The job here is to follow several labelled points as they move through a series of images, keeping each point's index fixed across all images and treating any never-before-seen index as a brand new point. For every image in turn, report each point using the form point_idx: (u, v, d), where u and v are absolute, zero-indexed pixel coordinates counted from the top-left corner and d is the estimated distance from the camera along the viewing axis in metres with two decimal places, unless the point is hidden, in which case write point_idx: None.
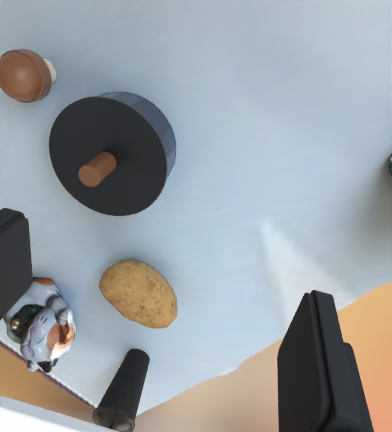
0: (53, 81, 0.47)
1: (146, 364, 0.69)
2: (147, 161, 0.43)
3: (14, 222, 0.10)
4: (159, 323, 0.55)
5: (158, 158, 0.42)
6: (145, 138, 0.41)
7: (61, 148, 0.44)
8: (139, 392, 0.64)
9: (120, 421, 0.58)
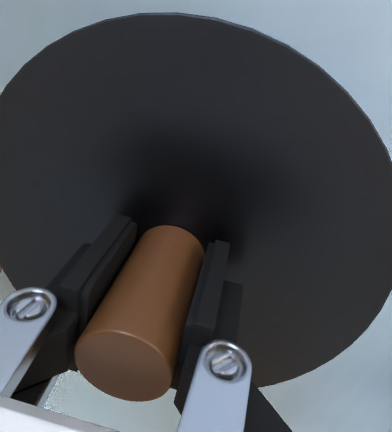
0: None
1: None
2: (255, 135, 0.10)
3: (129, 227, 0.11)
4: None
5: (274, 84, 0.10)
6: (177, 76, 0.10)
7: None
8: None
9: None
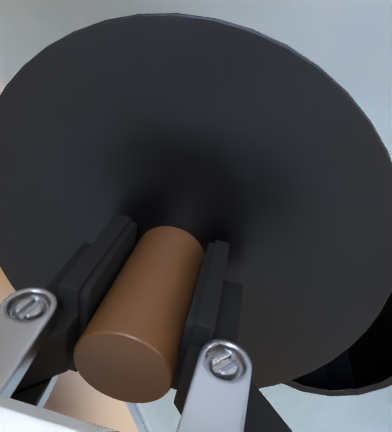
0: None
1: None
2: (255, 136, 0.10)
3: (129, 227, 0.11)
4: None
5: (274, 85, 0.09)
6: (176, 76, 0.10)
7: None
8: None
9: None
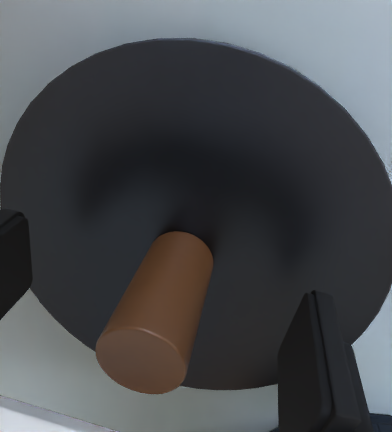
0: None
1: None
2: (261, 149, 0.11)
3: (14, 222, 0.10)
4: None
5: (279, 103, 0.10)
6: (189, 94, 0.11)
7: (91, 320, 0.16)
8: None
9: None
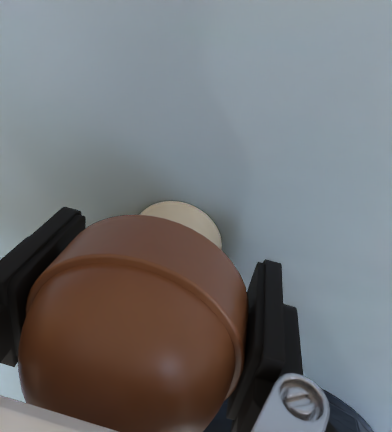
0: None
1: None
2: None
3: (75, 220, 0.11)
4: None
5: None
6: None
7: None
8: None
9: None
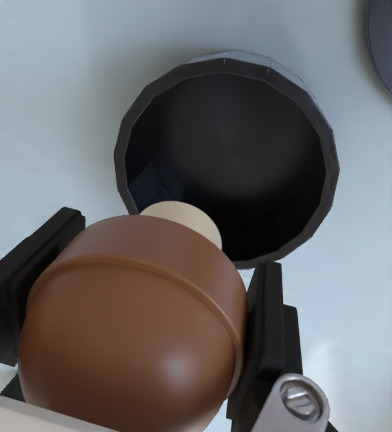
0: None
1: None
2: None
3: (75, 220, 0.11)
4: None
5: None
6: None
7: None
8: None
9: None
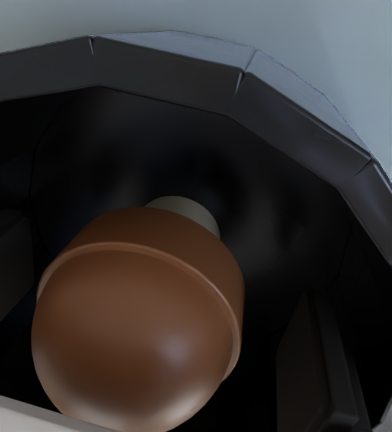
0: None
1: None
2: None
3: (16, 222, 0.11)
4: None
5: None
6: None
7: None
8: None
9: None
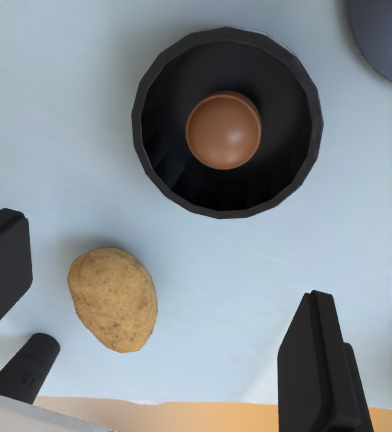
0: None
1: (54, 360, 0.52)
2: None
3: (14, 222, 0.10)
4: (122, 348, 0.40)
5: None
6: None
7: None
8: (34, 399, 0.47)
9: None
